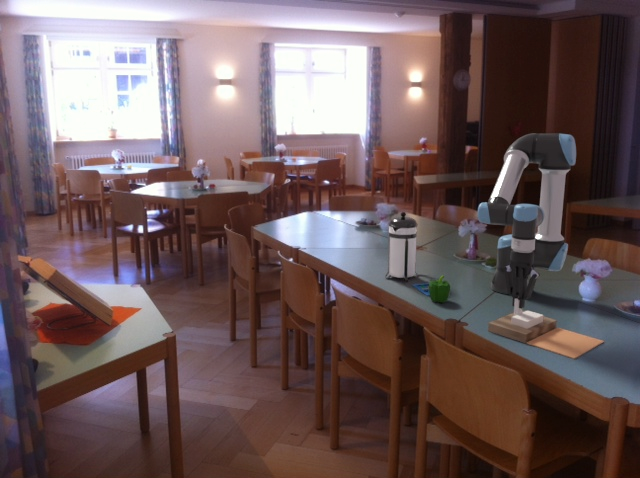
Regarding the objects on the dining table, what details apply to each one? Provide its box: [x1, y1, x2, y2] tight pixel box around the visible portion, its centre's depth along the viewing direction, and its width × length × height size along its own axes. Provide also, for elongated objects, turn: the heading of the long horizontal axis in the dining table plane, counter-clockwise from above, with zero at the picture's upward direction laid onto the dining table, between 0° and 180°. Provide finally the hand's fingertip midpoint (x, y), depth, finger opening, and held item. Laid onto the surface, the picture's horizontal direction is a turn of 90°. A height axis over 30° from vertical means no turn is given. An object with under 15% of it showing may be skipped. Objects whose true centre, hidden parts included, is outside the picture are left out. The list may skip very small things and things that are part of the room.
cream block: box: [511, 310, 544, 329], centre depth 203 cm, size 10×6×2 cm, turn 130°
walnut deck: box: [487, 309, 558, 344], centre depth 205 cm, size 20×14×3 cm
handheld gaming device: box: [412, 282, 430, 297], centre depth 250 cm, size 8×1×15 cm
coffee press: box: [384, 211, 419, 283], centre depth 265 cm, size 17×16×30 cm
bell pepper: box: [428, 275, 451, 303], centre depth 235 cm, size 8×8×10 cm
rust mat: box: [526, 327, 605, 360], centre depth 194 cm, size 20×16×1 cm
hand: (517, 316), depth 206 cm, fingers closed
